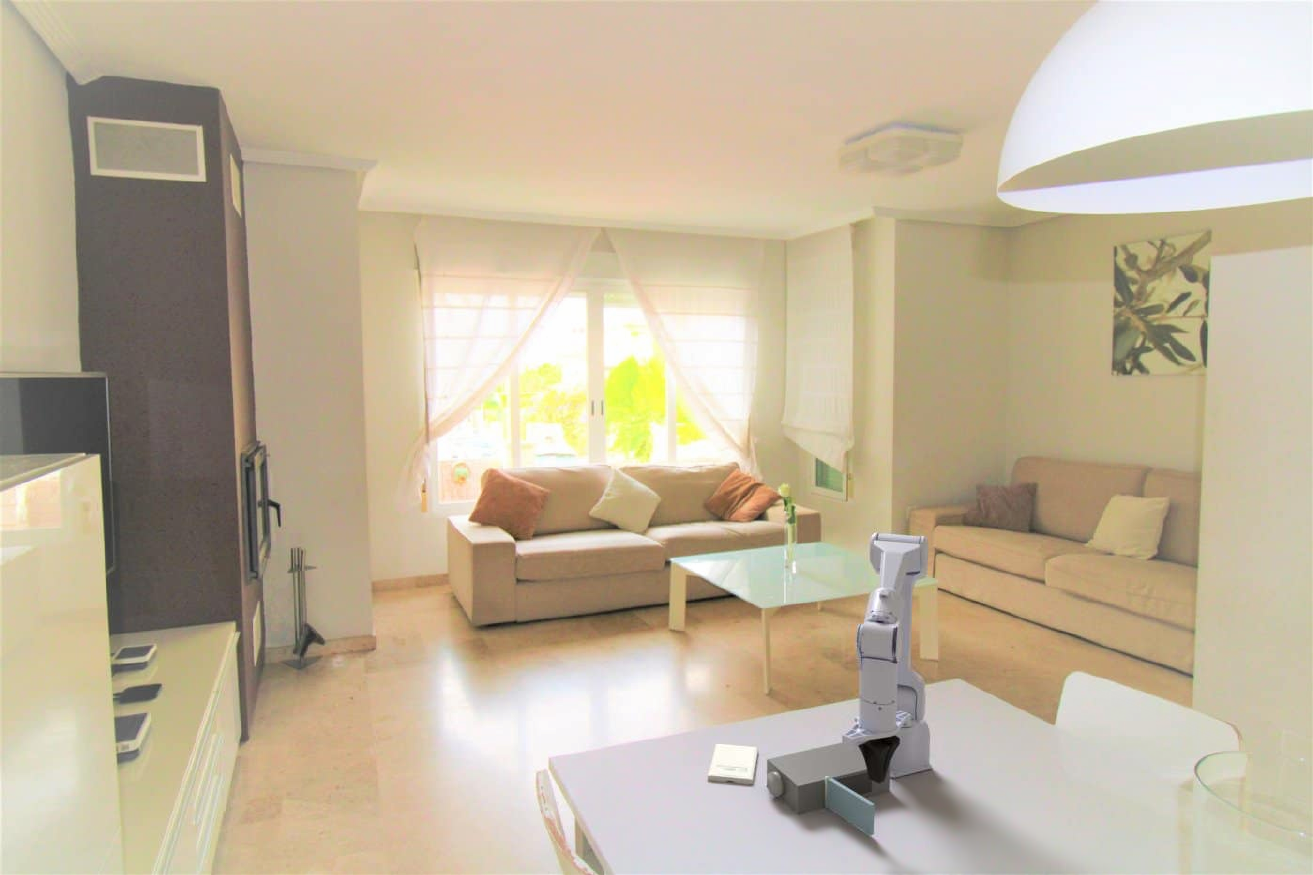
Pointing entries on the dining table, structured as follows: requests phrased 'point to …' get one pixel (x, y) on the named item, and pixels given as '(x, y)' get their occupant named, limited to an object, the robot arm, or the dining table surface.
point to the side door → (849, 805)
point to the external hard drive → (733, 764)
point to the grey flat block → (819, 776)
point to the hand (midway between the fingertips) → (876, 779)
